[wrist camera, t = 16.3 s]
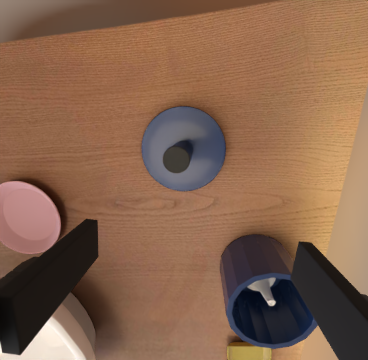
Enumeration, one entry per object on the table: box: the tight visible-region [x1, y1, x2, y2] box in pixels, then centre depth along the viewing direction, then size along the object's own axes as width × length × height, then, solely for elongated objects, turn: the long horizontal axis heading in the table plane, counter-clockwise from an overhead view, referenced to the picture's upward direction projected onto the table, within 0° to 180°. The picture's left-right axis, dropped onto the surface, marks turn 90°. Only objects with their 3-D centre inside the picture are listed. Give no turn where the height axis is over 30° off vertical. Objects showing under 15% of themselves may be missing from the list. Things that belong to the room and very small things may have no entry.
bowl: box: [0, 292, 96, 360], centre depth 41 cm, size 24×25×10 cm
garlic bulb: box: [247, 278, 276, 306], centre depth 35 cm, size 6×6×8 cm
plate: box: [0, 181, 61, 254], centre depth 40 cm, size 14×14×2 cm
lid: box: [142, 106, 226, 191], centre depth 30 cm, size 14×14×11 cm
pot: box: [220, 235, 318, 349], centre depth 34 cm, size 13×13×10 cm
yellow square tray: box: [227, 342, 272, 360], centre depth 44 cm, size 9×9×2 cm
